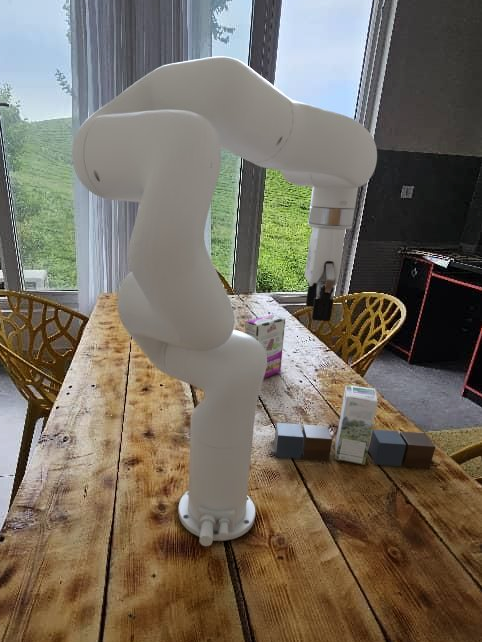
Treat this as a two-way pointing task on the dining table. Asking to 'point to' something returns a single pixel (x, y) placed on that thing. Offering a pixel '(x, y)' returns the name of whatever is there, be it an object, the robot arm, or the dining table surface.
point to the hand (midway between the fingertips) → (317, 313)
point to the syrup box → (355, 424)
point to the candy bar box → (269, 339)
